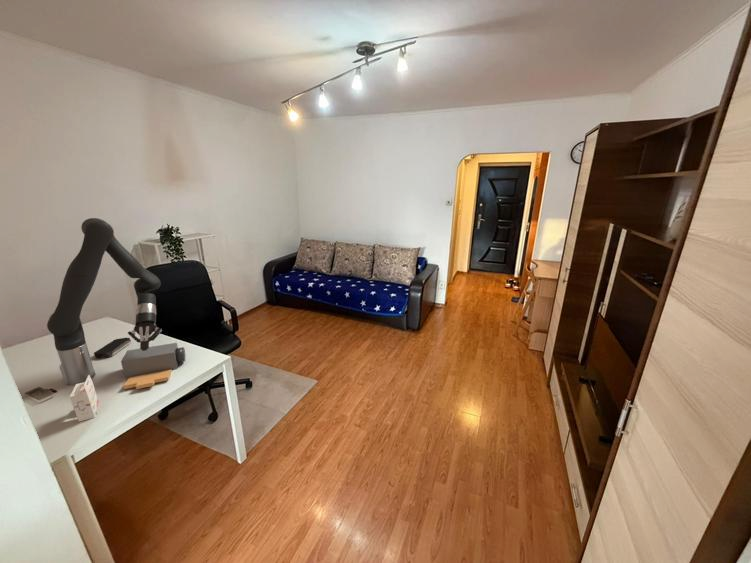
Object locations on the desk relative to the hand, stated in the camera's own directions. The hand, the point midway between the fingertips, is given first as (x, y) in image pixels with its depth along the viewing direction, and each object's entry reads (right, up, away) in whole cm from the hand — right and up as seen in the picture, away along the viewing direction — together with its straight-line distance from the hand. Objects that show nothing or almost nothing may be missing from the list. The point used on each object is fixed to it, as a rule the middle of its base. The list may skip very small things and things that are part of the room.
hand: (144, 350), depth 132 cm
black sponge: (-36, -6, +25) cm, 45 cm away
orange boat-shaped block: (-1, -13, +5) cm, 14 cm away
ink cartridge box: (-8, -21, -17) cm, 28 cm away
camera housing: (-2, -12, +12) cm, 17 cm away
